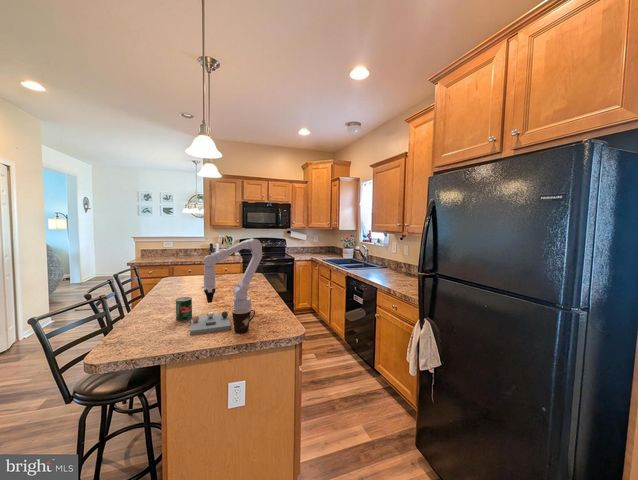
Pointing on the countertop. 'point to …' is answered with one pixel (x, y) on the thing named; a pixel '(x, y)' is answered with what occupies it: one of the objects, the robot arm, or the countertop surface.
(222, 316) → the black rubber ball
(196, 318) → the terracotta ball
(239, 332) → the coffee mug
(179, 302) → the canned tomato
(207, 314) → the steel ball
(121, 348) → the countertop surface
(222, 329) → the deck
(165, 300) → the countertop surface
